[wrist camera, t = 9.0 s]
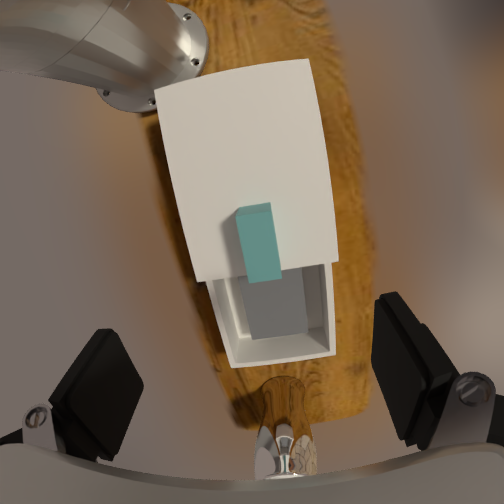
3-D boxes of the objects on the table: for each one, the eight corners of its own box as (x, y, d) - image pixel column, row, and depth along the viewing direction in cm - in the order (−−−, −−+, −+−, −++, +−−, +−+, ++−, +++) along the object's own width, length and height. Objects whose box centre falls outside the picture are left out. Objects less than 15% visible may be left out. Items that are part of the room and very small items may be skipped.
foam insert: (239, 262, 30) (236, 272, 27) (298, 253, 29) (300, 262, 27) (253, 326, 32) (252, 340, 30) (305, 319, 32) (308, 332, 29)
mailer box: (202, 207, 28) (190, 220, 24) (314, 189, 27) (324, 198, 22) (235, 339, 34) (231, 368, 29) (327, 327, 32) (335, 354, 28)
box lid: (156, 91, 19) (138, 83, 16) (307, 60, 18) (314, 46, 15) (198, 279, 25) (189, 299, 22) (337, 259, 24) (347, 276, 20)
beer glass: (264, 408, 38) (261, 497, 24) (252, 377, 36) (245, 476, 22) (311, 400, 37) (321, 490, 23) (304, 369, 35) (316, 468, 21)
